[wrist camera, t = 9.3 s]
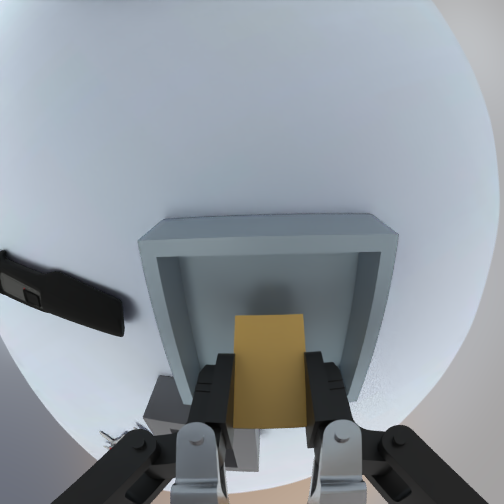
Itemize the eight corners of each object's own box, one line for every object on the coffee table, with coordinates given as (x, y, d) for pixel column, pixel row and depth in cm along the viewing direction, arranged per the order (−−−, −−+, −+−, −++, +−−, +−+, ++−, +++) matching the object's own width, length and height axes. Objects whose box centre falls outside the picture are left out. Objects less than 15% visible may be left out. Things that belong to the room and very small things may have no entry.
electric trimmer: (139, 329, 18) (123, 356, 15) (8, 281, 18) (-12, 296, 15) (137, 286, 17) (118, 312, 14) (1, 245, 16) (-22, 259, 13)
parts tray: (163, 219, 15) (137, 240, 11) (371, 213, 14) (398, 234, 11) (193, 369, 19) (183, 404, 16) (346, 366, 18) (356, 401, 15)
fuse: (246, 356, 17) (235, 315, 12) (291, 355, 17) (303, 313, 12) (245, 427, 14) (231, 428, 9) (293, 426, 14) (308, 426, 9)
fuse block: (159, 375, 20) (142, 417, 15) (257, 381, 19) (255, 429, 15) (182, 429, 23) (174, 464, 19) (259, 434, 23) (258, 471, 18)
